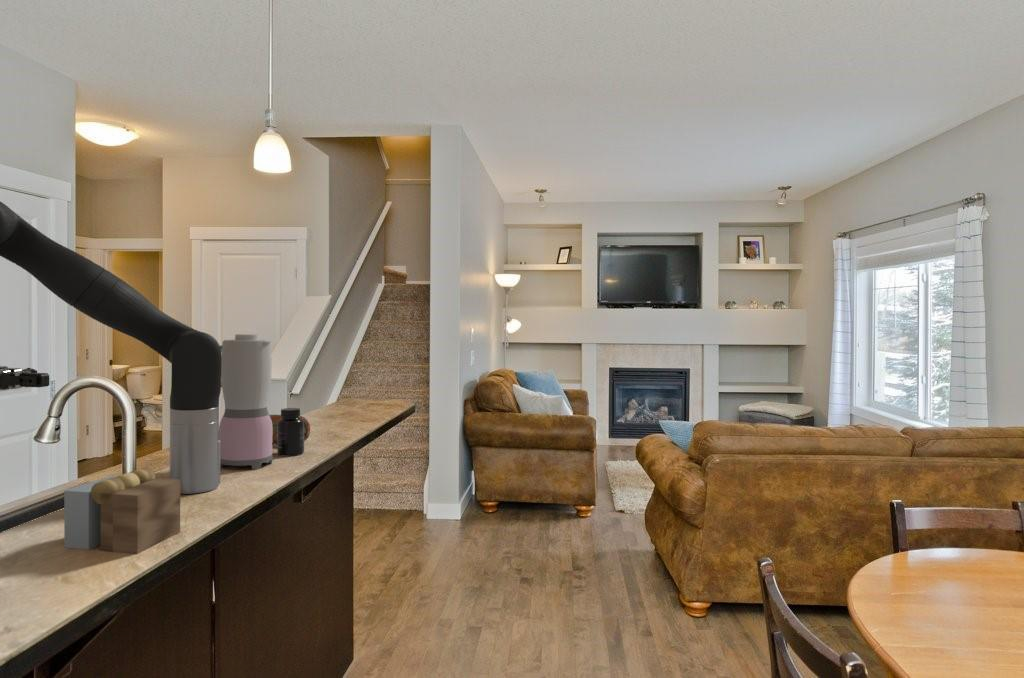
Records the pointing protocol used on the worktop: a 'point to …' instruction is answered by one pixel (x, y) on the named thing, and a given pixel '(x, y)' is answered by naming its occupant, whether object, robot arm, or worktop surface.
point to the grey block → (86, 513)
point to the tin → (277, 417)
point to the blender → (246, 401)
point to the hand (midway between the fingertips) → (45, 380)
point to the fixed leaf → (137, 511)
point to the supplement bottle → (290, 432)
